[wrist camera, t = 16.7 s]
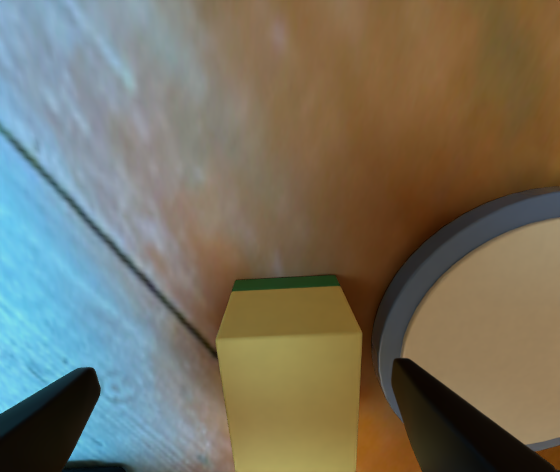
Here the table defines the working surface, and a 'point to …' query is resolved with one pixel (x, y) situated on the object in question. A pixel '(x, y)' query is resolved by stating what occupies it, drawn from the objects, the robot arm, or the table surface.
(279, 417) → the sponge
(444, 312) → the plate
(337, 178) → the table surface
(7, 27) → the table surface
